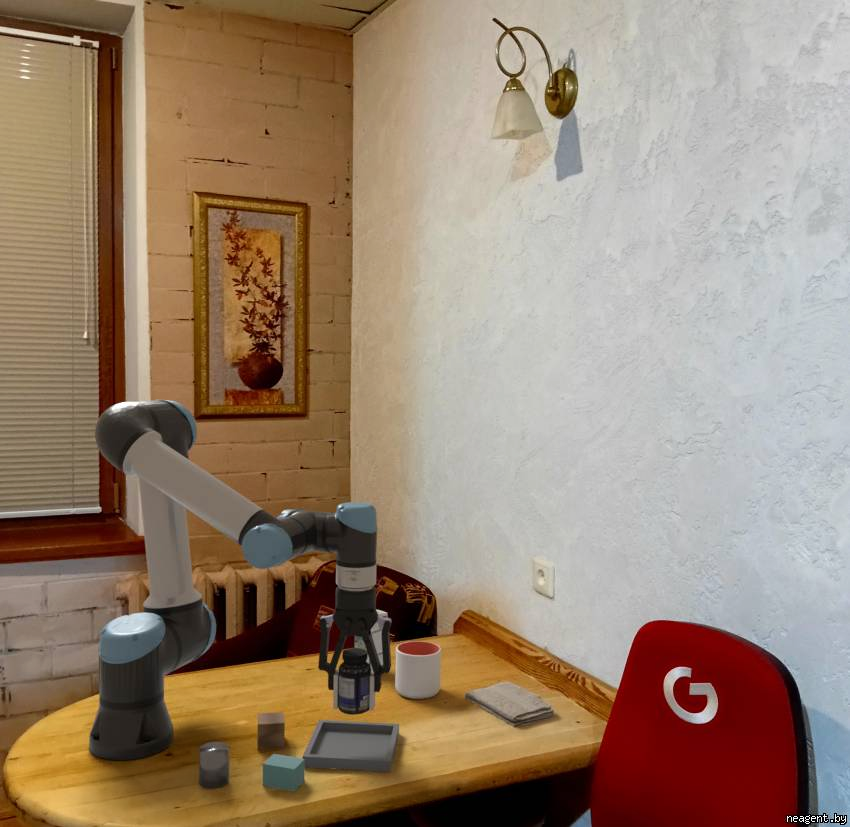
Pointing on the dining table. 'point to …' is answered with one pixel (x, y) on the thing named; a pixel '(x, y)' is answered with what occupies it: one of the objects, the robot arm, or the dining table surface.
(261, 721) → the walnut cube
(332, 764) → the tray
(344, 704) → the pill bottle
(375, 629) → the syrup box
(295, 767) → the teal block
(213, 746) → the metal cylinder
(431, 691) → the cup
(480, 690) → the washcloth
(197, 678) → the dining table surface
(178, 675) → the dining table surface
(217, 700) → the dining table surface
